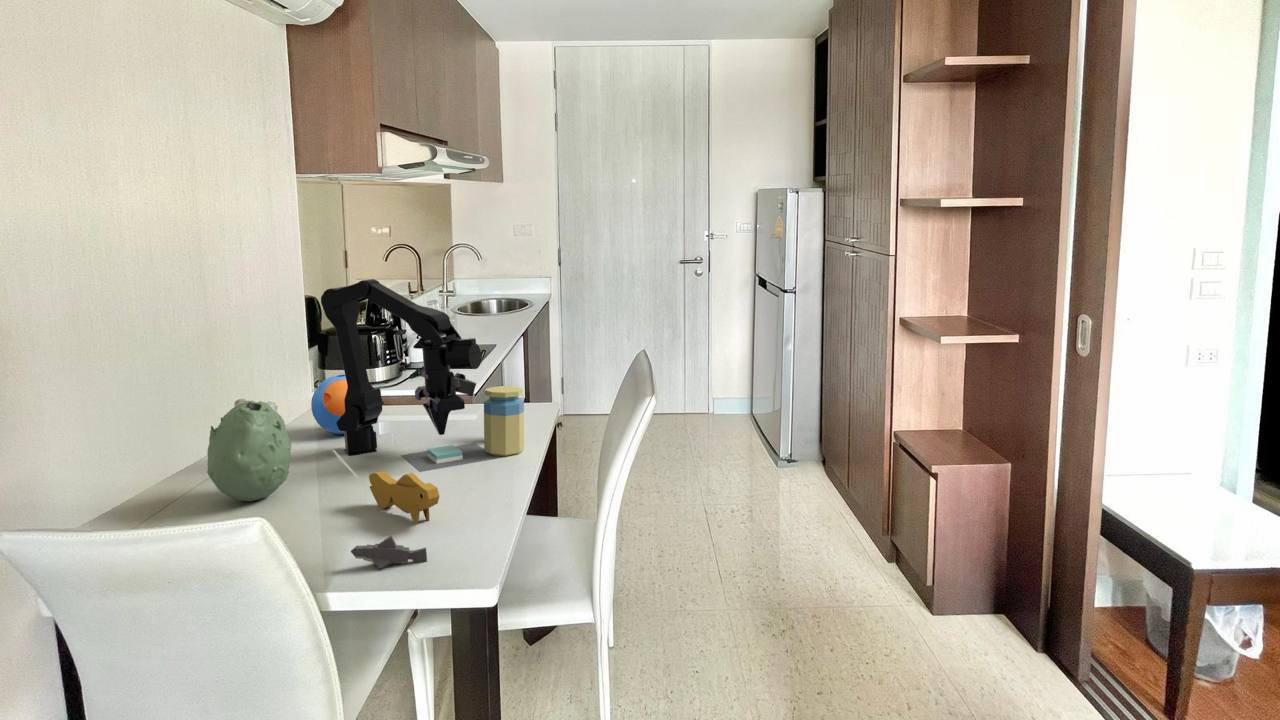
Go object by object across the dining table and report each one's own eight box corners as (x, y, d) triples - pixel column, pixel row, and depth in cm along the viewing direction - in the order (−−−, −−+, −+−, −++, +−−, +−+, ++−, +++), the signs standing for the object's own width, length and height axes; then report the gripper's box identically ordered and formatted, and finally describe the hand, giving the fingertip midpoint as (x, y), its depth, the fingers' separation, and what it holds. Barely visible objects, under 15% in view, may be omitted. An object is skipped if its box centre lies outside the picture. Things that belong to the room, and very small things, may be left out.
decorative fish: (447, 520, 158) (436, 466, 158) (431, 525, 156) (420, 470, 156) (389, 520, 174) (379, 470, 174) (374, 524, 172) (364, 474, 172)
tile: (427, 456, 204) (436, 463, 198) (427, 449, 203) (436, 455, 197) (453, 452, 207) (462, 459, 201) (452, 444, 206) (462, 451, 200)
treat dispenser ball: (373, 423, 240) (369, 368, 237) (379, 436, 226) (374, 377, 223) (313, 430, 234) (307, 373, 232) (315, 443, 220) (309, 383, 218)
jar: (526, 456, 202) (525, 392, 200) (485, 458, 200) (484, 393, 198) (522, 447, 211) (521, 385, 209) (483, 448, 209) (482, 386, 207)
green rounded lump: (199, 517, 168) (186, 415, 165) (226, 487, 186) (216, 395, 183) (285, 510, 171) (274, 409, 167) (304, 481, 189) (295, 390, 186)
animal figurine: (426, 563, 146) (430, 534, 145) (425, 574, 141) (428, 544, 141) (351, 558, 143) (355, 528, 143) (347, 568, 139) (350, 538, 138)
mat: (420, 473, 192) (419, 471, 192) (400, 456, 206) (400, 455, 205) (498, 459, 201) (498, 458, 200) (474, 444, 214) (474, 443, 214)
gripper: (484, 369, 196) (489, 437, 198) (458, 358, 212) (462, 421, 214) (435, 375, 190) (440, 445, 193) (412, 363, 206) (417, 428, 209)
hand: (441, 434), depth 203 cm, fingers closed
